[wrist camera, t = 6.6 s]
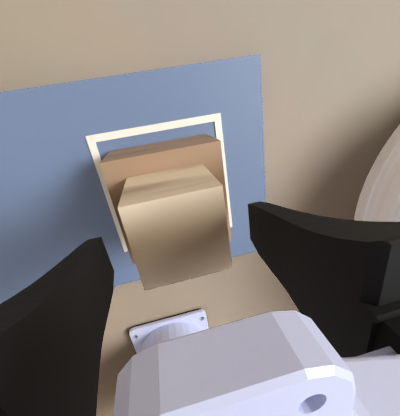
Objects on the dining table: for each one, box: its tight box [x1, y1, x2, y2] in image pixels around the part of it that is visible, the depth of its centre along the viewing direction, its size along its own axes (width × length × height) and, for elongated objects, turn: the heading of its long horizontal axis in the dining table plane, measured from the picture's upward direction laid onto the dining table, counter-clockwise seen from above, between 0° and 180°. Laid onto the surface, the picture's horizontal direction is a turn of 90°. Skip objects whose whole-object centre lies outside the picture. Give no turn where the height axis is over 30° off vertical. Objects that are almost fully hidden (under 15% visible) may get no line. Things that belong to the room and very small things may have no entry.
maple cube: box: [118, 163, 233, 291], centre depth 13 cm, size 4×4×4 cm
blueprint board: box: [0, 55, 266, 304], centre depth 18 cm, size 16×28×1 cm, turn 99°
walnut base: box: [99, 134, 231, 264], centre depth 17 cm, size 7×7×4 cm
